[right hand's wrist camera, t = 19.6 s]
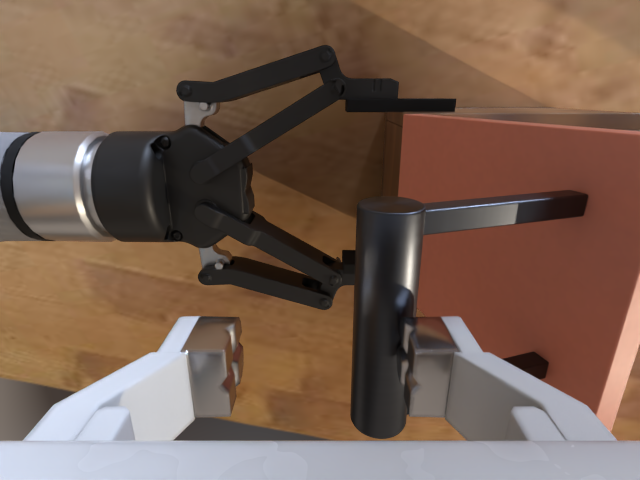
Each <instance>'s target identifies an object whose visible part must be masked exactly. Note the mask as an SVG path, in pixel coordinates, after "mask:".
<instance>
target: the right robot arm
mask: <svg viewBox="0 0 640 480" xmlns="http://www.w3.org/2000/svg"><path fill="white" fill-rule="evenodd" d="M241 333H242V330H241V321H240V318H239V317H206V316H202V317H200V316H182V317H179V318H178V320H177V321H176V323H175V324H174V326H173V328H172V329H171V331H170V332H169V334H168V335H167V337H166V338H165V340H164V342H163V343H162V345H161V346H160V348H159V349H158V351H157V352H150V353H149V354H147V355H145V356H143V357H141V358H139V359H137V360H136V361H134V362H132V363H130V364H128V365H126V366H125V367H123V368H121V369H119V370H117V371H115V372H113V373H112V374H110V375H108V376H106V377H104V378H102V379H100V380H99V381H97V382H95V383H93V384H91V385H89V386H88V387H86V388H84V389H82V390H80V391H78V392H76V393H75V394H73V395H71V396H69V397H67V398H65V399H64V400H62V401H60V402H58V403H56V404H54V405H53V406H52V407H51V408H50V410H49V411H48V412H47V413H46V414H45V415H44V417H43V418H42V419H41V420H40V421H39V422H38V423H37V425H36V426H35V427H34V428H33V429H32V430H31V432H30V433H29V434H28V435H27V436H26V437H25V438H24V440H23V441H0V480H640V441H617V440H616V438H615V437H614V436H613V435H612V434H611V433H610V431H609V430H608V429H607V428H606V427H605V426H604V424H603V423H602V422H601V421H600V420H599V419H598V417H597V416H596V415H595V414H594V413H593V412H592V411H591V409H590V408H589V407H588V406H587V405H585V404H584V403H582V402H580V401H578V400H576V399H574V398H573V397H571V396H569V395H567V394H565V393H563V392H561V391H560V390H558V389H556V388H554V387H552V386H550V385H549V384H547V383H545V382H543V381H541V380H539V379H537V378H536V377H534V376H532V375H530V374H528V373H526V372H525V371H523V370H521V369H519V368H517V367H515V366H514V365H512V364H510V363H508V362H506V361H504V360H502V359H501V358H499V357H497V356H495V355H493V354H491V353H490V352H483V351H482V349H481V348H480V346H479V345H478V343H477V342H476V340H475V339H474V337H473V336H472V334H471V333H470V331H469V329H468V328H467V326H466V325H465V323H464V322H463V320H462V319H461V317H459V316H444V317H404V318H400V321H399V329H398V333H399V336H400V339H401V343H400V344H399V345H398V346H397V357H396V358H397V372H398V378H399V381H400V384H401V385H403V386H404V399H405V403H406V406H407V410H408V413H409V416H411V417H445V419H446V420H447V421H448V422H449V423H450V424H451V425H452V426H453V427H454V428H455V429H456V430H457V431H458V432H459V433H460V434H461V435H462V436H463V437H464V438H465V439H466V440H467V441H173V440H174V439H175V438H176V437H177V436H178V435H179V434H180V433H181V432H182V431H183V430H184V429H185V428H186V427H187V426H188V425H190V424H191V423H192V422H193V421H194V420H195V417H228V416H231V413H232V410H233V406H234V403H235V399H236V386H237V385H239V384H240V381H241V377H242V372H243V346H242V345H241V344H240V343H239V339H240V336H241Z"/></svg>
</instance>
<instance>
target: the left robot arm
mask: <svg viewBox="0 0 640 480" xmlns="http://www.w3.org/2000/svg"><path fill="white" fill-rule="evenodd" d="M317 73H320V74H321V77H322V80H323V83H324V85H322V86H321V87H319V88H317V89H316V90H314V91H313V92H311V93H309V94H308V95H306V96H305V97H303V98H302V99H300V100H298V101H297V102H295V103H294V104H292V105H290V106H289V107H287V108H286V109H284V110H283V111H281V112H279V113H278V114H276V115H275V116H273V117H272V118H270V119H268V120H267V121H265V122H264V123H262V124H260V125H259V126H257V127H256V128H254V129H253V130H251V131H249V132H248V133H246V134H245V135H243V136H241V137H239V138H238V139H236V140H235V141H233V142H232V143H229V142H228V141H226V140H225V139H223V138H222V137H220V136H219V135H218V134H216V133H215V132H213V131H212V130H211V129H209V128H208V127H206V126H205V125H204V124H205V120H206V118H207V117H208V116H211V115H215V114H216V113H218V111H219V109H220V102H229V101H234V100H237V99H240V98H243V97H246V96H249V95H253V94H256V93H259V92H262V91H265V90H268V89H271V88H274V87H277V86H280V85H283V84H286V83H289V82H292V81H295V80H298V79H301V78H304V77H307V76H310V75H313V74H317ZM398 85H399V82H397V81H395V80H393V79H351V78H347V77H345V76H344V75H343V74H342V72H341V70H340V68H339V64H338V61H337V58H336V55H335V52H334V49H333V48H332V47H330V46H328V45H323V46H320V47H317V48H314V49H311V50H308V51H305V52H302V53H299V54H296V55H293V56H290V57H287V58H284V59H281V60H278V61H275V62H272V63H269V64H266V65H263V66H260V67H257V68H254V69H251V70H248V71H245V72H242V73H239V74H236V75H233V76H230V77H227V78H224V79H221V80H218V81H215V82H201V81H181V82H180V83H179V84H178V86H177V90H176V91H177V95H178V96H179V98H180V99H181V100H183V101H184V114H185V126H183V127H181V128H180V129H178V130H176V131H170V132H147V131H119V132H113V133H111V134H108V133H105V132H103V131H43V132H31V133H21V132H0V242H1V241H89V242H111V241H114V240H116V239H117V240H119V241H123V242H178V241H181V242H186V243H189V244H192V245H194V246H196V247H198V248H199V252H200V257H201V263H202V270H201V271H200V272H199V274H198V279H199V281H200V282H201V283H202V284H204V285H224V284H232V285H235V286H239V287H242V288H246V289H250V290H253V291H257V292H260V293H264V294H268V295H271V296H275V297H278V298H282V299H286V300H289V301H293V302H297V303H300V304H304V305H307V306H311V307H315V308H318V309H322V310H326V309H329V308H330V307H331V306H332V302H333V298H334V296H335V294H336V291H337V290H338V288H339V287H341V286H344V285H355V253H356V250H342V262H341V261H340V259H339V258H338V257H337V260H336V259H334V258H332V257H331V256H329V255H327V254H325V253H323V252H322V251H320V250H318V249H316V248H314V247H313V246H311V245H309V244H307V243H305V242H304V241H302V240H300V239H298V238H296V237H295V236H293V235H291V234H289V233H287V232H286V231H284V230H282V229H280V228H278V227H277V226H275V225H273V224H271V223H269V222H268V221H266V220H265V218H264V217H263V216H261V215H260V214H258V213H256V212H254V211H252V210H253V208H254V206H255V204H254V194H253V191H252V188H251V180H252V175H253V170H252V163H250V162H249V160H248V158H247V156H249V155H250V154H252V153H253V152H255V151H257V150H258V149H260V148H261V147H263V146H265V145H266V144H268V143H269V142H271V141H273V140H274V139H276V138H278V137H279V136H281V135H282V134H284V133H286V132H287V131H289V130H290V129H292V128H294V127H295V126H297V125H299V124H300V123H302V122H303V121H305V120H307V119H308V118H310V117H312V116H313V115H315V114H316V113H318V112H320V111H321V110H323V109H324V108H326V107H328V106H329V105H331V104H333V103H334V102H336V101H337V100H346V102H345V111H346V112H455V105H456V99H398ZM227 235H229V236H230V237H232V238H234V239H236V240H238V241H240V242H241V243H243V244H245V245H249V246H250V245H252V246H255V247H257V248H259V249H261V250H262V251H264V252H266V253H268V254H270V255H272V256H274V257H275V258H277V259H279V260H281V261H283V262H285V263H286V264H288V265H290V266H292V267H294V268H296V269H298V270H299V271H301V272H303V273H305V274H307V275H304V274H301V273H297V272H294V271H290V270H287V269H283V268H280V267H276V266H272V265H269V264H265V263H262V262H258V261H255V260H251V259H248V258H243V257H237V256H232V255H231V253H230V252H229V251H225V250H221V249H219V248H218V247H217V245H216V243H217V242H219V241H220V240H222V239H223V238H224V237H226V236H227ZM308 275H309V276H308Z"/></svg>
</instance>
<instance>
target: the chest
mask: <svg viewBox="0 0 640 480" xmlns="http://www.w3.org/2000/svg"><path fill="white" fill-rule="evenodd" d="M404 114H428V115H440V116H453V117H465V118H478V119H491V120H503V121H516V122H528V123H541V124H554V125H566V126H579V127H591V128H604V129H617V130H629V131H640V113H632V112H615V111H598V110H581V109H564V108H455V112H386V115H385V134H384V153H383V172H382V191H381V196H395V197H398V189H399V174H400V160H401V145H402V130H403V115H404Z"/></svg>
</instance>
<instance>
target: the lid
mask: <svg viewBox="0 0 640 480" xmlns="http://www.w3.org/2000/svg"><path fill="white" fill-rule="evenodd" d="M417 308H418V309H419V310H420V311H421V312H422V313H423V314H424V315H425V316H426V317H444V316H459V317H461V319H462V320H463V322H464V323H465V325H466V326H467V328H468V329H469V331H470V333H471V334H472V336H473V337H474V339H475V340H476V342H477V343H478V345H479V346H480V348H481V349H482V351H483V352H490V353H491V354H493V355H495V356H497V357H499V358H501V359H502V360H504V361H506V362H508V363H510V364H512V365H514V366H515V367H517V368H519V369H521V370H523V371H525V372H526V373H528V374H530V375H532V376H534V377H536V378H537V379H539V380H541V381H543V382H545V383H547V384H549V385H550V386H552V387H554V388H556V389H558V390H560V391H561V392H563V393H565V394H567V395H569V396H571V397H573V398H574V399H576V400H578V401H580V402H582V403H584V404H585V405H587V406H588V407H589V408H590V409H591V411H592V412H593V413H594V414H595V415H596V416H597V417H598V419H599V420H600V421H601V422H602V423H603V424H604V426H605V427H606V428H607V429H608V430H609V431H610V433H611V430H612V427H613V424H614V421H615V418H616V415H617V412H618V409H619V405H620V402H621V399H622V396H623V393H624V390H625V387H626V384H627V381H628V378H629V375H630V372H631V369H632V366H633V363H634V360H635V357H636V354H637V350H638V347H639V344H640V131H629V130H617V129H604V128H591V127H579V126H566V125H554V124H541V123H528V122H516V121H503V120H491V119H478V118H465V117H453V116H440V115H428V114H404V115H403V130H402V145H401V160H400V174H399V189H398V197H395V196H378V197H370V198H366V199H363V200H361V201H359V202H358V204H357V221H356V253H355V285H354V317H353V349H352V381H351V413H350V415H351V420H352V422H353V424H354V426H355V427H356V428H357V429H358V430H359V431H360V432H361V433H363V434H365V435H367V436H369V437H372V438H378V439H386V438H391V437H394V436H396V435H397V434H399V433H400V432H401V431H402V430H403V428H404V427H405V424H406V416H407V415H408V414H409V413H408V410H407V406H406V403H405V399H404V386H403V385H401V384H400V381H399V378H398V372H397V358H396V357H397V346H398V345H399V344H400V343H401V339H400V336H399V333H398V329H399V321H400V318H404V317H416V309H417Z"/></svg>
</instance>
